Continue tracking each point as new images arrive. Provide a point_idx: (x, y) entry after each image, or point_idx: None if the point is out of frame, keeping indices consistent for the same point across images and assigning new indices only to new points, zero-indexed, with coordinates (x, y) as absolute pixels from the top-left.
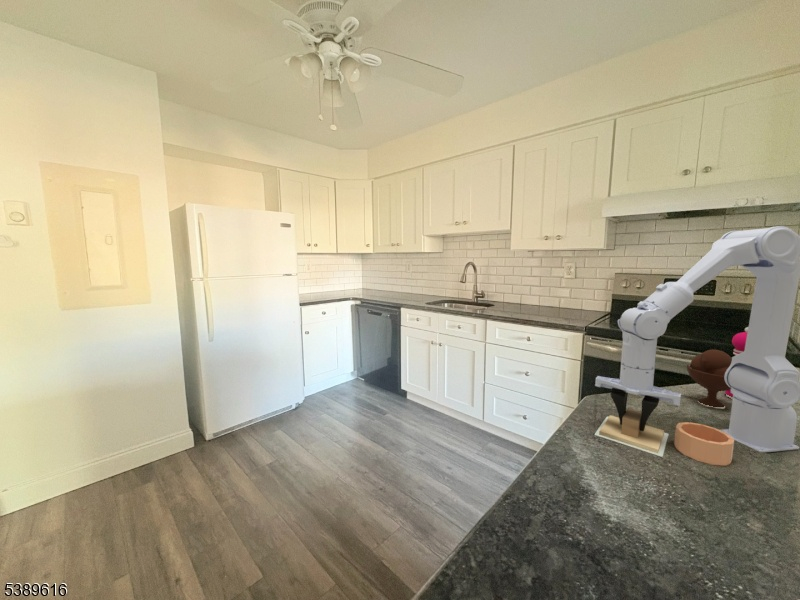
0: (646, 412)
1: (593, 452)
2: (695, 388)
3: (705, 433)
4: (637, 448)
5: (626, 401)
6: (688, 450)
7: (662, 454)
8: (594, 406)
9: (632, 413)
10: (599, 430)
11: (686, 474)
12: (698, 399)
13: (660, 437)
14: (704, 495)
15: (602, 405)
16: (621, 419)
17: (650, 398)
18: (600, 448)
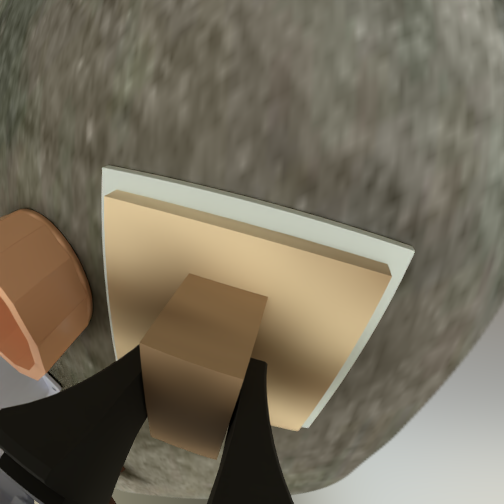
0: (76, 404)
1: (428, 45)
2: (139, 489)
3: (21, 343)
4: (194, 190)
5: (210, 495)
6: (32, 238)
7: (103, 192)
8: (335, 460)
9: (190, 427)
10: (374, 311)
11: (54, 94)
12: (121, 471)
13: (115, 320)
14: (41, 4)
15: (307, 467)
16: (255, 384)
17: (32, 485)
18: (394, 107)
